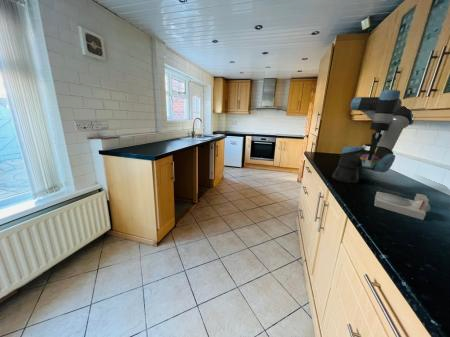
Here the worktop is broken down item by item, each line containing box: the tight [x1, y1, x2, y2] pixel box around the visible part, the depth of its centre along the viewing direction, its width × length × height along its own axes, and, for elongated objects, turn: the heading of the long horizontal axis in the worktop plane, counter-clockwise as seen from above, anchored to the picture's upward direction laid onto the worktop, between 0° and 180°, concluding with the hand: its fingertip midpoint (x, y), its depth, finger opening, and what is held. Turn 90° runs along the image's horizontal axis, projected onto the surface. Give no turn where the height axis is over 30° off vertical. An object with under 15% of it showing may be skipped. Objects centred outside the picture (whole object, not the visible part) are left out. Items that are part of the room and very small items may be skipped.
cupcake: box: [360, 146, 380, 168], centre depth 100 cm, size 9×8×12 cm
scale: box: [374, 191, 431, 221], centre depth 89 cm, size 16×18×8 cm
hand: (367, 164), depth 101 cm, fingers closed on cupcake, 8 cm apart
